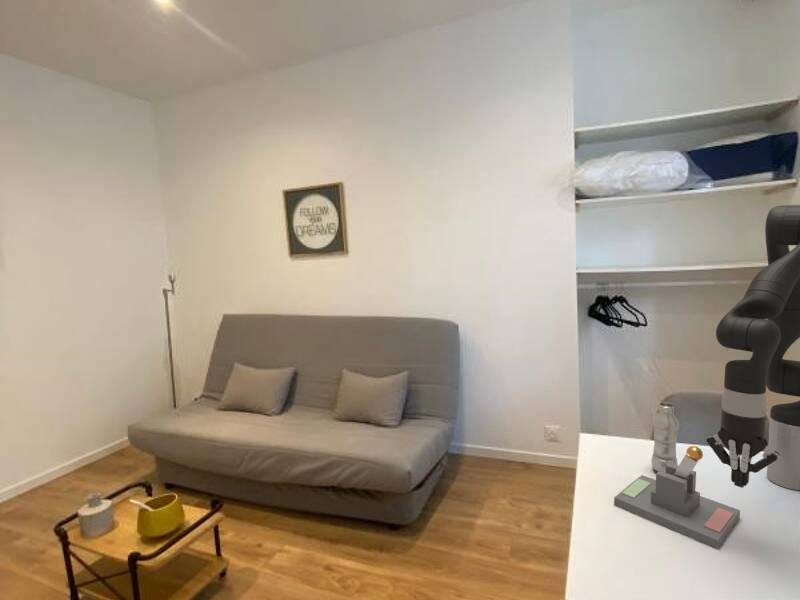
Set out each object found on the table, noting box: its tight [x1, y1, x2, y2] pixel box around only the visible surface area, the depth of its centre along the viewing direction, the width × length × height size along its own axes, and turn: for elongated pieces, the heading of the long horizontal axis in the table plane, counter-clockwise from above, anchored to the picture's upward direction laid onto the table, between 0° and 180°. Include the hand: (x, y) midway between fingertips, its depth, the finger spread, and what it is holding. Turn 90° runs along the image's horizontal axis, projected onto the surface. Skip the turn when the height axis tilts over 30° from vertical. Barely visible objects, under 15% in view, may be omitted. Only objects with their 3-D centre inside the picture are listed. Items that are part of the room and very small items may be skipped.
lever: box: [673, 445, 704, 480], centre depth 104 cm, size 3×3×13 cm
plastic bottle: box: [651, 402, 680, 473], centre depth 124 cm, size 6×7×20 cm
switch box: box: [613, 463, 741, 550], centre depth 106 cm, size 16×22×10 cm
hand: (739, 485), depth 96 cm, fingers closed
